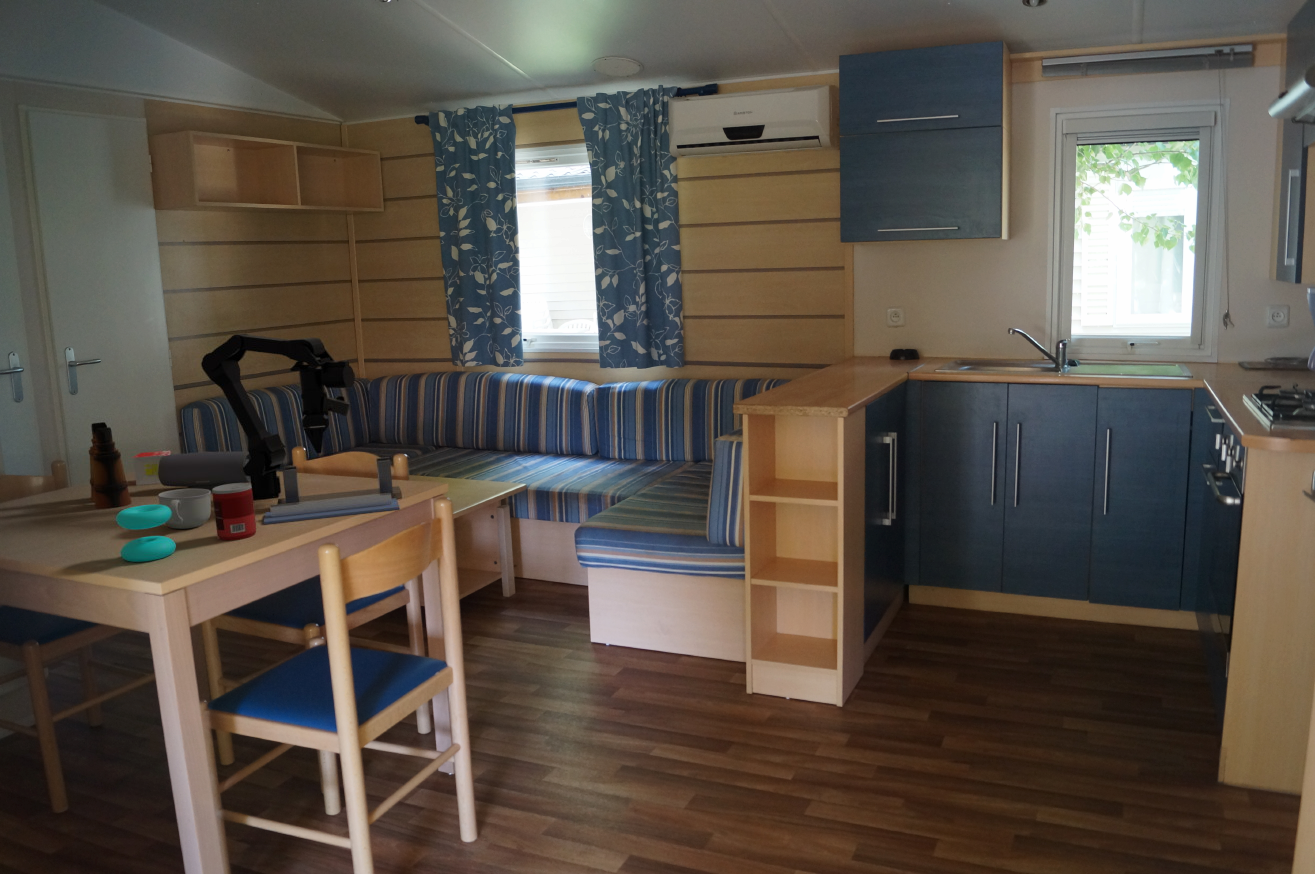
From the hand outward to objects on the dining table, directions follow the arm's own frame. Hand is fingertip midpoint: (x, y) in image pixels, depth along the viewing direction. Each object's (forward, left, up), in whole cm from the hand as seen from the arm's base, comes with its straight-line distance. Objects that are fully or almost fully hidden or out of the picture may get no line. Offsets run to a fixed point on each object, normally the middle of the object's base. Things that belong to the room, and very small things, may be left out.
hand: (318, 450), depth 247 cm
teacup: (-30, -18, -12) cm, 37 cm away
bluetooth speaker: (-29, +27, -12) cm, 41 cm away
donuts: (-34, -41, -12) cm, 55 cm away
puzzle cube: (-45, +46, -12) cm, 66 cm away
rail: (+2, -19, -11) cm, 22 cm away
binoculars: (-52, +22, -12) cm, 58 cm away
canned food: (-18, -32, -12) cm, 39 cm away
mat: (+2, -19, -12) cm, 23 cm away
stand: (+4, -8, -12) cm, 15 cm away
